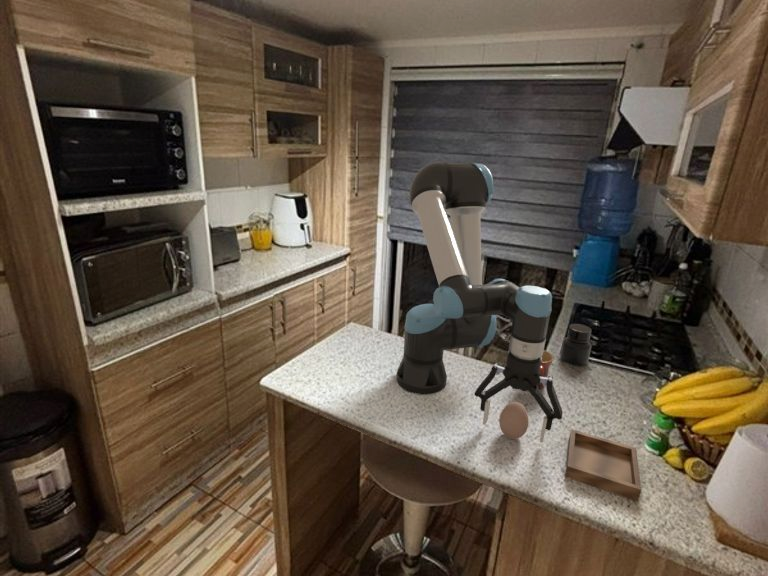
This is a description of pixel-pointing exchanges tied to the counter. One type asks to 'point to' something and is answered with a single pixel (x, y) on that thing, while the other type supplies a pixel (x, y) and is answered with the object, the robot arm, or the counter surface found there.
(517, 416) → the egg
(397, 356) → the counter surface
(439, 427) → the counter surface
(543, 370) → the mug
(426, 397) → the counter surface
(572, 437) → the tray
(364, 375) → the counter surface
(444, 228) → the robot arm
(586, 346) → the ink bottle
